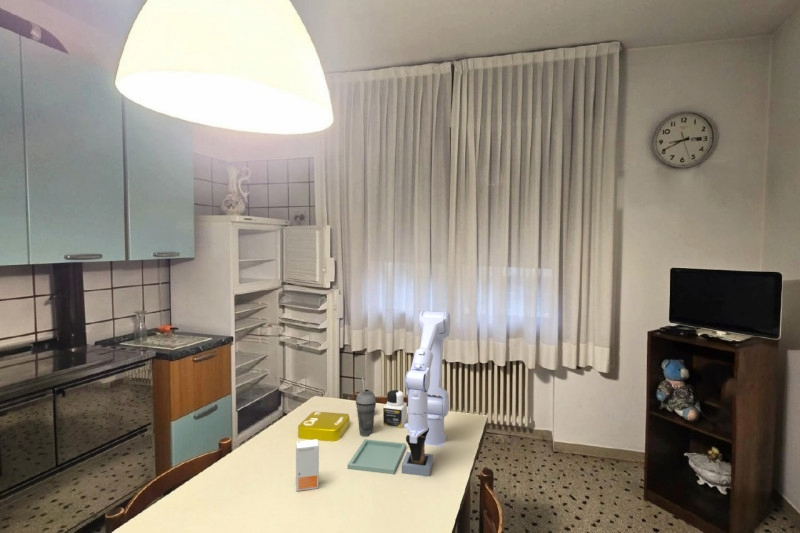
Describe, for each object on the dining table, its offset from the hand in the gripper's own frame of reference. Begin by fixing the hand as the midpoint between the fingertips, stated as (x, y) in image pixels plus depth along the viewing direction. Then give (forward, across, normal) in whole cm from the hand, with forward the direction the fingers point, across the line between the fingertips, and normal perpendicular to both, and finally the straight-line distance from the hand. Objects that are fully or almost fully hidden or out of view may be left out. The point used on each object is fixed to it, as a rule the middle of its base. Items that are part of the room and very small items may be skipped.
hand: (417, 456), depth 123 cm
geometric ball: (+4, -36, -27) cm, 45 cm away
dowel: (+3, 0, 0) cm, 3 cm away
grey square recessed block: (+4, 0, 0) cm, 4 cm away
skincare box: (+4, +15, -28) cm, 32 cm away
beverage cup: (+4, -20, -22) cm, 30 cm away
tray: (+4, -4, -13) cm, 14 cm away
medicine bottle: (+4, -31, -14) cm, 34 cm away
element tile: (+5, -19, -37) cm, 42 cm away
